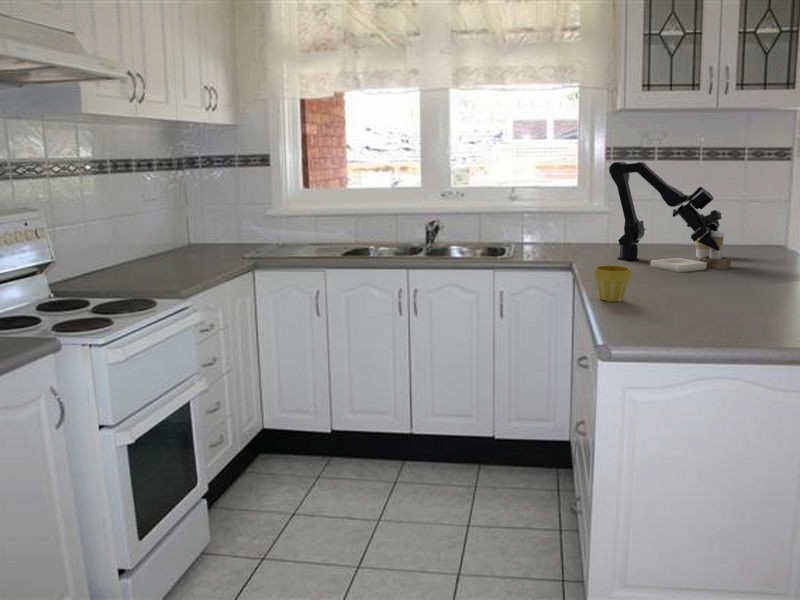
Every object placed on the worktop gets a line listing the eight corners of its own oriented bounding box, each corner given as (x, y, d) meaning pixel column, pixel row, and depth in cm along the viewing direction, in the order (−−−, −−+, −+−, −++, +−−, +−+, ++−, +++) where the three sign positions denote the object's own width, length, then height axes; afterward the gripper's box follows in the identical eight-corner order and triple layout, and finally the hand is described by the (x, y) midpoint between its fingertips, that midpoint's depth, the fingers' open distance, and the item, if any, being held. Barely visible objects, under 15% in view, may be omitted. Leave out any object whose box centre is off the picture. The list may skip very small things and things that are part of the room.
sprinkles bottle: (706, 267, 292) (709, 231, 290) (710, 265, 296) (713, 230, 293) (719, 268, 289) (722, 232, 287) (723, 266, 293) (726, 231, 290)
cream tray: (650, 266, 293) (650, 260, 293) (677, 264, 300) (677, 257, 299) (678, 272, 281) (679, 265, 281) (706, 269, 288) (706, 262, 287)
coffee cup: (719, 259, 312) (722, 221, 309) (693, 258, 314) (696, 221, 311) (714, 255, 321) (717, 219, 318) (689, 255, 323) (692, 219, 320)
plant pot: (631, 303, 228) (633, 271, 226) (594, 302, 229) (596, 270, 227) (627, 296, 238) (629, 265, 236) (592, 295, 239) (594, 264, 237)
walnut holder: (699, 267, 292) (700, 258, 291) (705, 264, 299) (706, 255, 298) (724, 269, 286) (725, 260, 286) (730, 266, 294) (731, 257, 293)
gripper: (702, 204, 283) (731, 237, 279) (715, 201, 297) (743, 232, 293) (678, 225, 289) (707, 257, 285) (692, 221, 304) (720, 251, 299)
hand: (720, 248), depth 290 cm, fingers open, 6 cm apart
